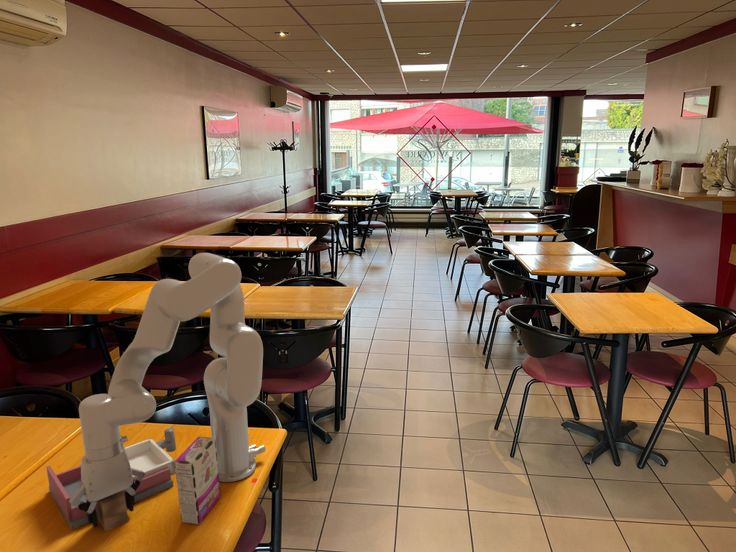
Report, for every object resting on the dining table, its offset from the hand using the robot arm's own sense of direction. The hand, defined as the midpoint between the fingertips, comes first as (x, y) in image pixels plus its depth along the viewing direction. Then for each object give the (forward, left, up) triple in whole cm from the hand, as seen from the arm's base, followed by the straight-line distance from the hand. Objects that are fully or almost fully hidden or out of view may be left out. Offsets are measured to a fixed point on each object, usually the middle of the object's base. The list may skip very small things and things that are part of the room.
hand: (112, 515), depth 126 cm
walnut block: (0, 0, -1) cm, 1 cm away
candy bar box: (-17, +11, -2) cm, 20 cm away
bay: (-4, -13, -1) cm, 14 cm away
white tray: (-12, -13, 0) cm, 18 cm away
